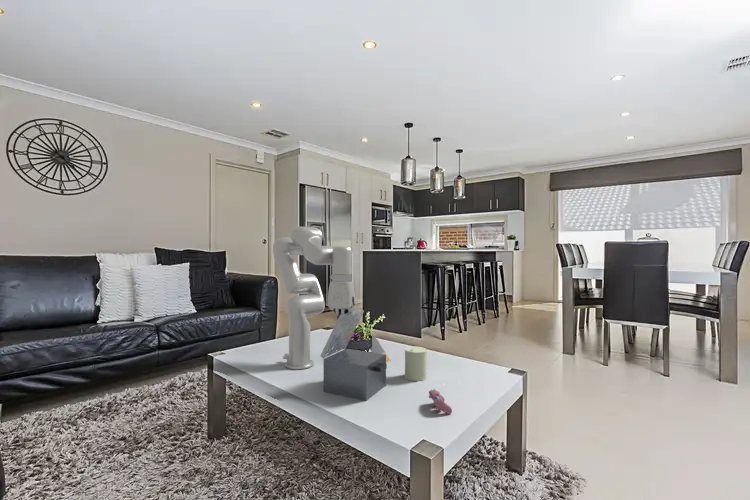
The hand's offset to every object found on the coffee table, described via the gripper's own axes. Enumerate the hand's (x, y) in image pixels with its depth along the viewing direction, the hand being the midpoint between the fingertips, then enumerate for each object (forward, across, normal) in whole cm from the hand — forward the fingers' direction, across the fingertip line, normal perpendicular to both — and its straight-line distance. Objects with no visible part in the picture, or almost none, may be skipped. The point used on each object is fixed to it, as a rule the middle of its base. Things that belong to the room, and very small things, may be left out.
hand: (341, 326), depth 139 cm
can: (+23, +22, +22) cm, 39 cm away
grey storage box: (+23, +8, 0) cm, 24 cm away
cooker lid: (+3, +1, 0) cm, 3 cm away
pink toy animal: (+23, +40, -2) cm, 46 cm away
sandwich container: (+24, -4, +35) cm, 43 cm away
